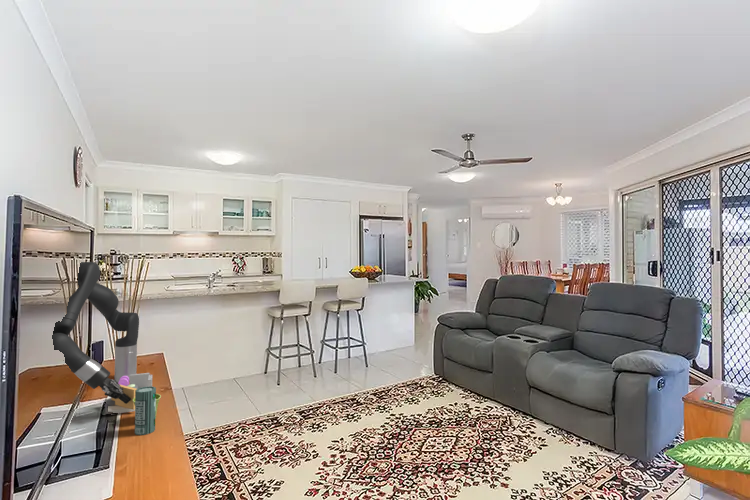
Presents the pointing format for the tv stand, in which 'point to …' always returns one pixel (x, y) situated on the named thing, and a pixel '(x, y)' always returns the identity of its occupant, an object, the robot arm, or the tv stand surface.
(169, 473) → the tv stand surface
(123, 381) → the bracket
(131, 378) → the plate
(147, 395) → the can
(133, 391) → the tan upright panel
